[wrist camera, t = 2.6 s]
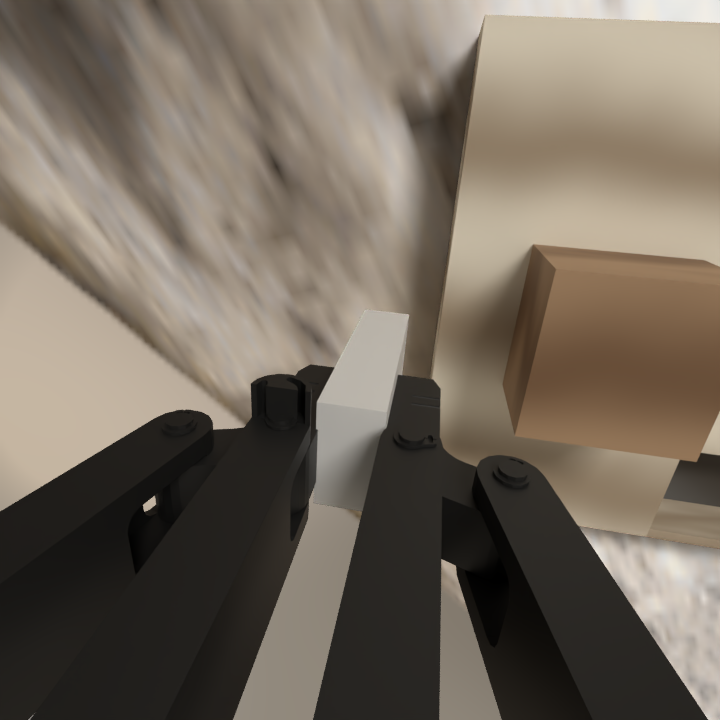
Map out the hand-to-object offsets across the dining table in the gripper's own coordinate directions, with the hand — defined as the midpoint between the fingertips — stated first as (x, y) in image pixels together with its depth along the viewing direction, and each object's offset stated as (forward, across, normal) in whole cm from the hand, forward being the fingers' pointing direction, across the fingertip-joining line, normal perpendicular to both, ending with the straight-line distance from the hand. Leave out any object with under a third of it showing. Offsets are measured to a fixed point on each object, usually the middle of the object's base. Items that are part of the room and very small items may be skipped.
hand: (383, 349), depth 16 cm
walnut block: (+4, +8, 0) cm, 9 cm away
